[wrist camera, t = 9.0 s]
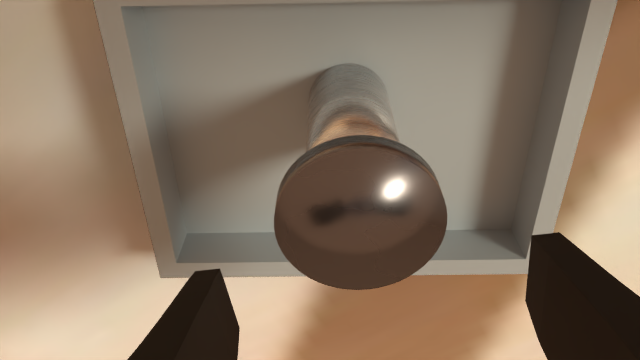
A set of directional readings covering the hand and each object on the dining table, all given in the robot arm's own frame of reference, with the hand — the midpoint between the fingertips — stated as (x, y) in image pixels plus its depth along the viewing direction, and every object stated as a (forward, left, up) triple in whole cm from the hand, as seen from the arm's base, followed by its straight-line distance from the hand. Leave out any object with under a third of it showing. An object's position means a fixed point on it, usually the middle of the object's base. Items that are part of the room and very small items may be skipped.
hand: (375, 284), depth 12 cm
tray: (0, +1, -10) cm, 10 cm away
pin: (0, 0, -9) cm, 9 cm away
